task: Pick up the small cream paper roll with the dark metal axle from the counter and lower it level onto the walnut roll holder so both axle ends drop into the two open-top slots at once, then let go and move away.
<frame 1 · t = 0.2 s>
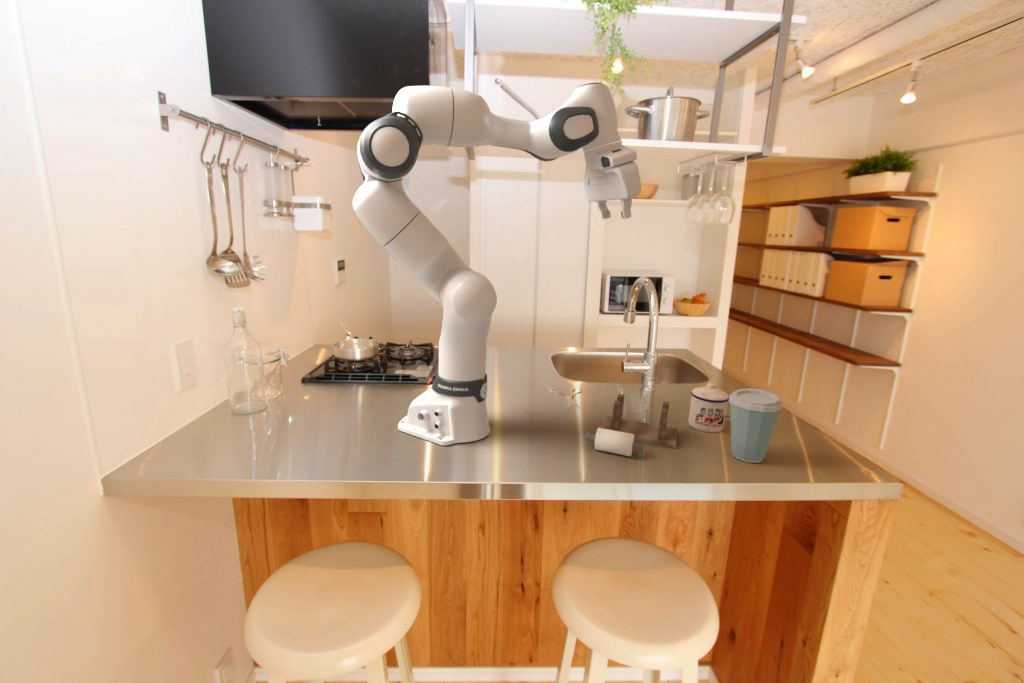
hand: (616, 218, 116), 52 cm above the countertop, tool tilted 20°, fingers open, 8 cm apart
paper roll: (614, 441, 107), point 2 cm above the countertop
teacup with lid: (711, 427, 124), on the countertop
scissors: (568, 400, 141), on the countertop
disposable coffee cup: (745, 457, 108), on the countertop
roll holder: (638, 433, 118), on the countertop
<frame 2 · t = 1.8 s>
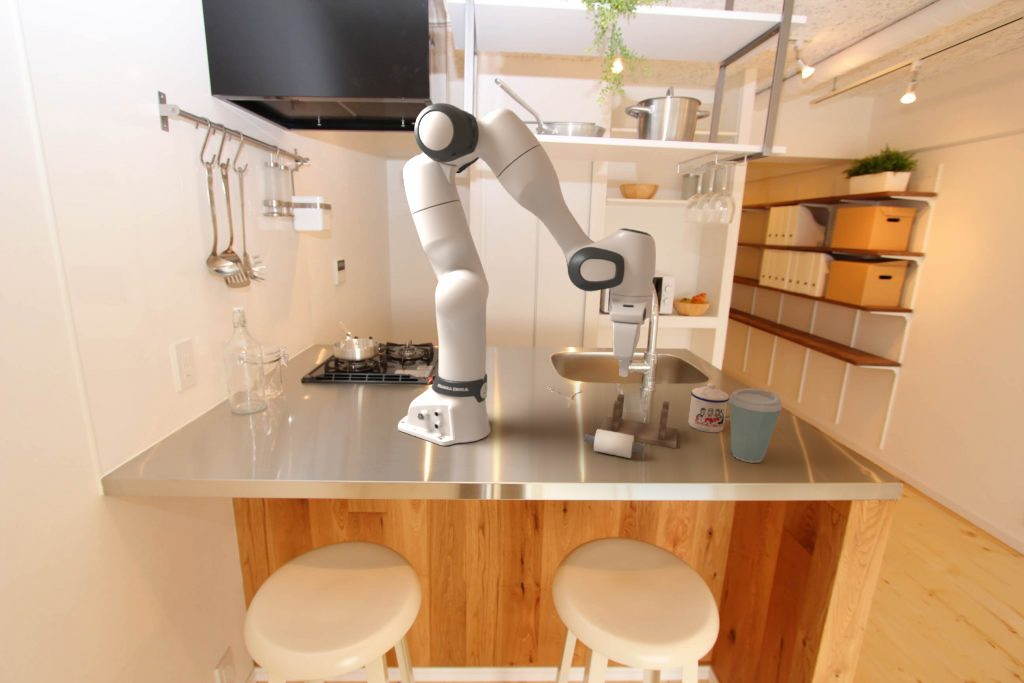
hand: (625, 369, 105), 19 cm above the countertop, tool pointing down, fingers open, 8 cm apart
paper roll: (613, 443, 107), point 2 cm above the countertop, tilted 21°
everything else where it was.
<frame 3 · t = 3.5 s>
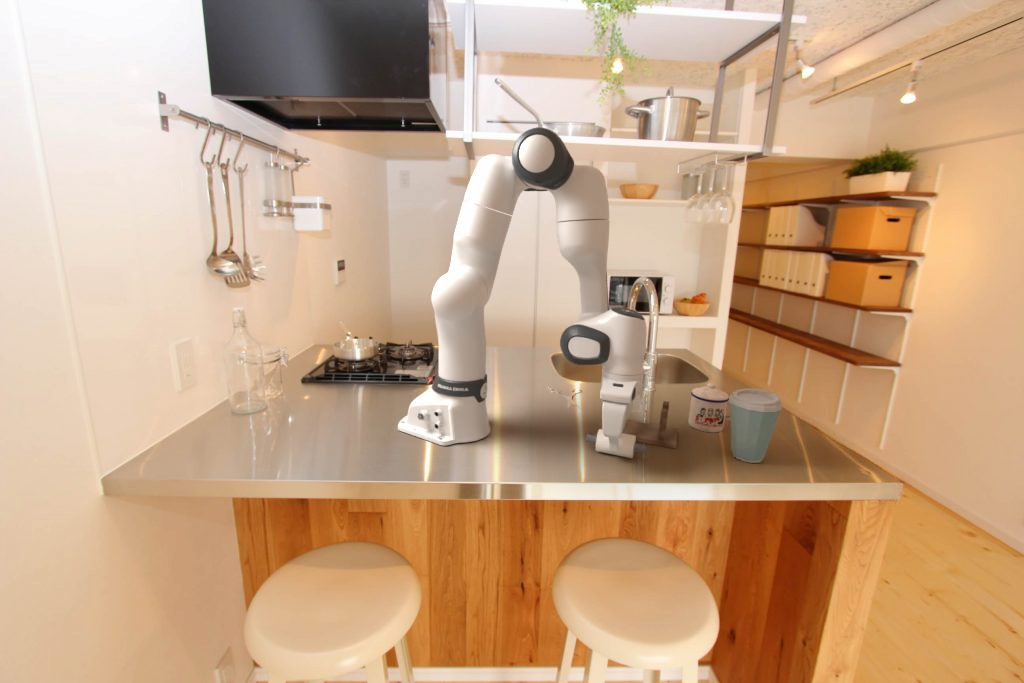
hand: (617, 440, 107), 3 cm above the countertop, tool pointing down, fingers open, 8 cm apart
paper roll: (615, 443, 106), point 2 cm above the countertop, tilted 69°
everything else where it was.
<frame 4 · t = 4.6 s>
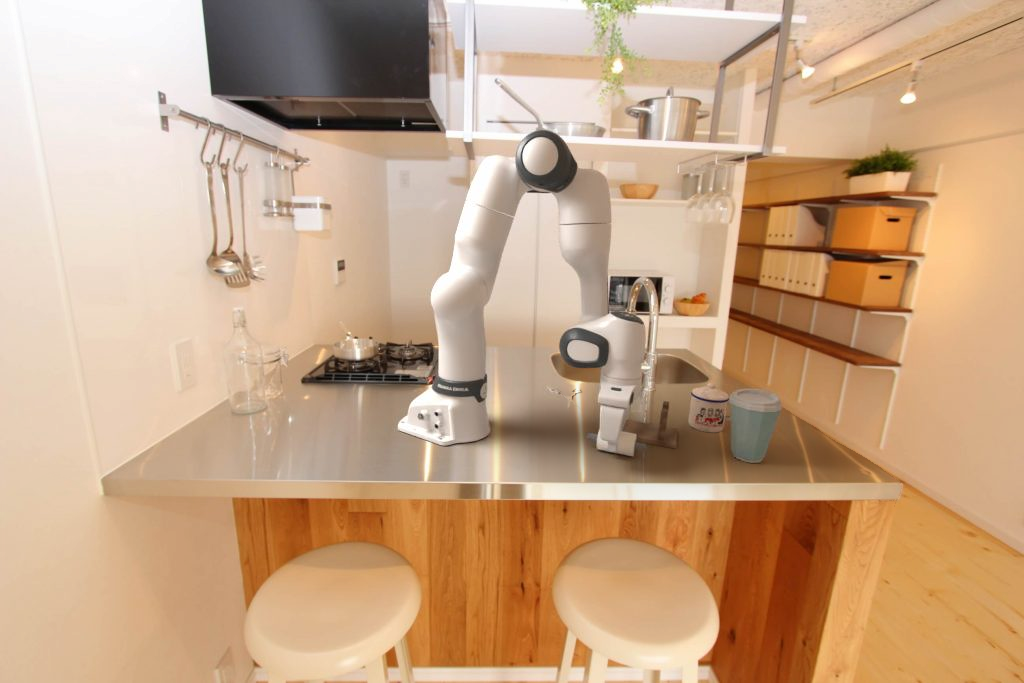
hand: (614, 444, 107), 2 cm above the countertop, tool pointing down, fingers closed on paper roll, 5 cm apart
paper roll: (616, 441, 107), point 2 cm above the countertop, tilted 51°, touching gripper
everything else where it was.
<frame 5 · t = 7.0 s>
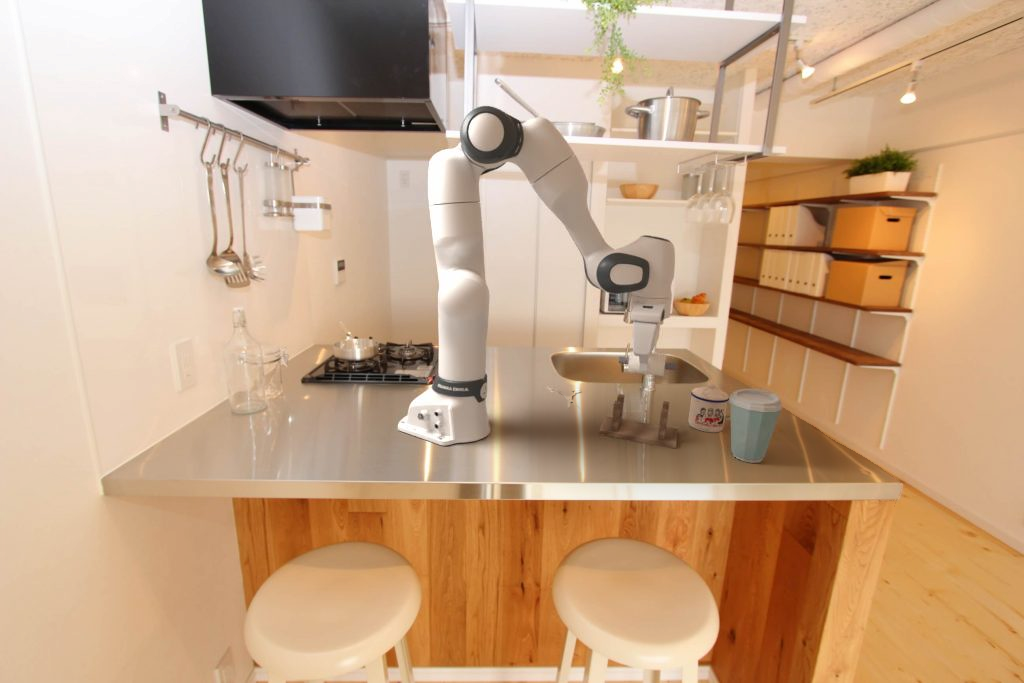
hand: (644, 366, 112), 18 cm above the countertop, tool pointing down, fingers closed on paper roll, 5 cm apart
paper roll: (647, 363, 112), point 19 cm above the countertop, tilted 52°, touching gripper
everything else where it was.
when the fingers open (6 cm above the countertop, at t = 9.7 s): paper roll stays where it is, resting on roll holder.
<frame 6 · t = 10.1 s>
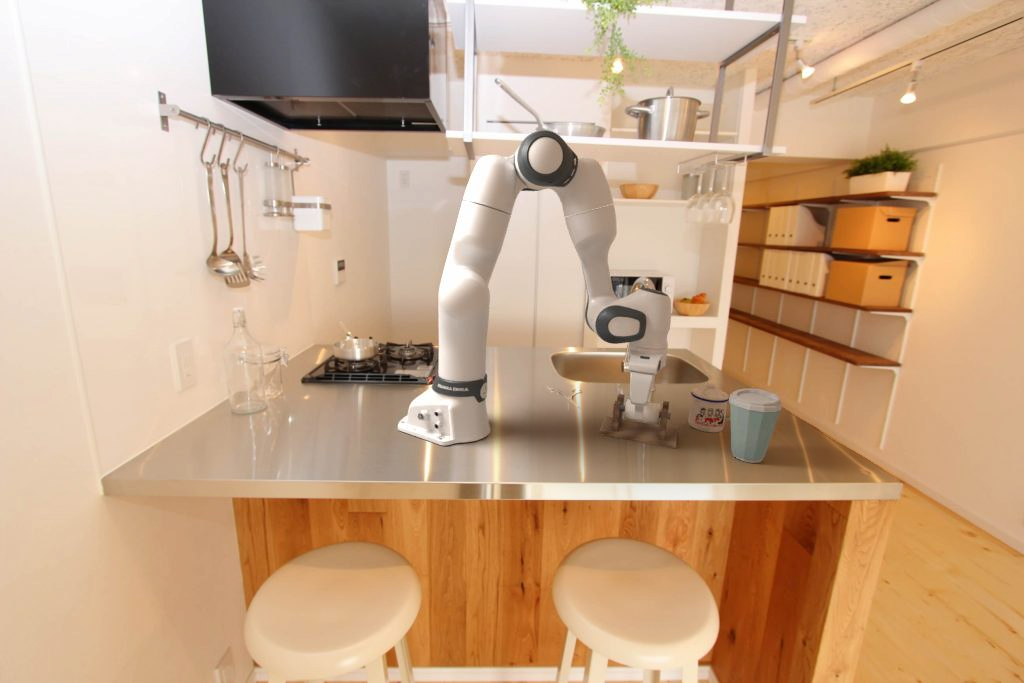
hand: (640, 410, 117), 6 cm above the countertop, tool pointing down, fingers open, 8 cm apart
paper roll: (642, 411, 117), point 6 cm above the countertop, tilted 56°, touching roll holder
everything else where it was.
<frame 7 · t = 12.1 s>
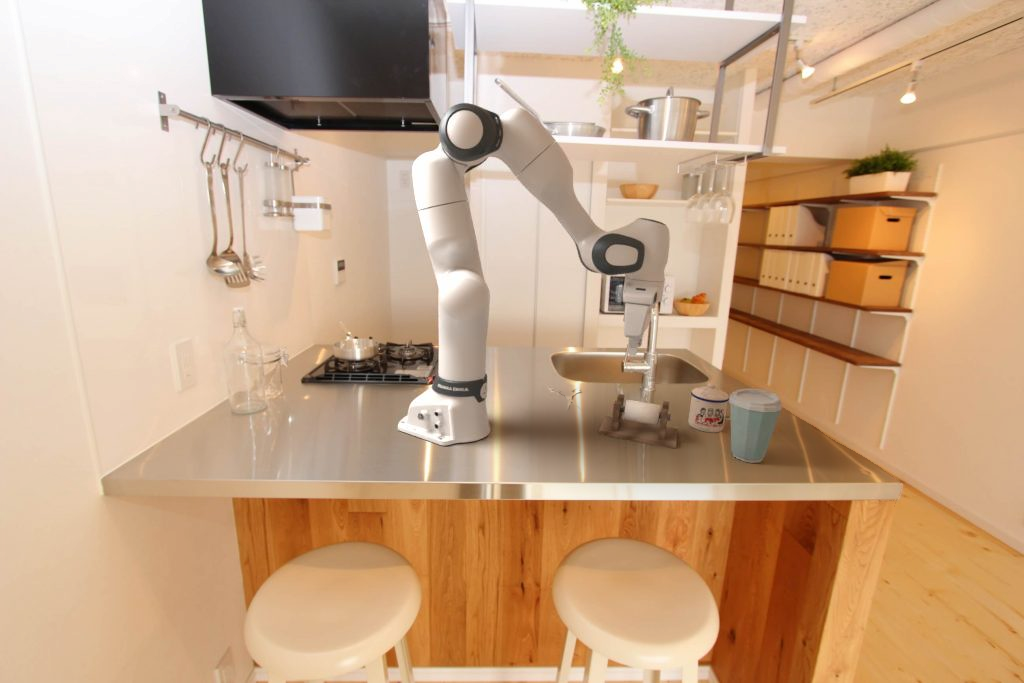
hand: (634, 350, 113), 21 cm above the countertop, tool pointing down, fingers open, 8 cm apart
paper roll: (642, 412, 116), point 6 cm above the countertop, tilted 100°, touching roll holder
everything else where it was.
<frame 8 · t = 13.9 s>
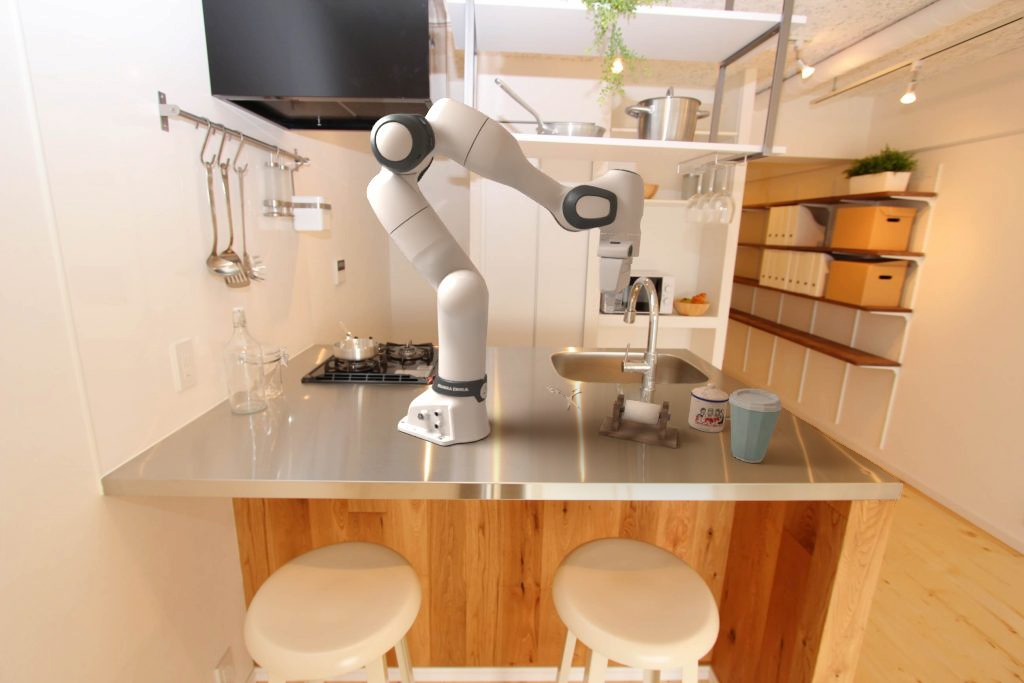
hand: (613, 309, 108), 31 cm above the countertop, tool pointing down, fingers open, 8 cm apart
nothing on the countertop moved.
at the end: paper roll 0.8 cm off-centre on the roll holder, point 5.8 cm above the roll holder's base; paper roll touching roll holder; the gripper is holding nothing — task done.
